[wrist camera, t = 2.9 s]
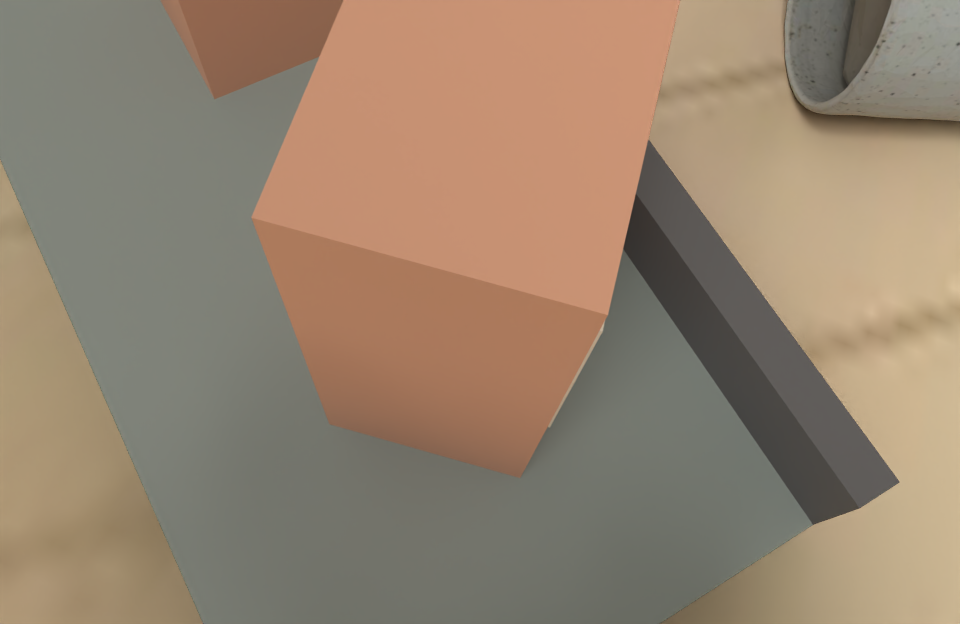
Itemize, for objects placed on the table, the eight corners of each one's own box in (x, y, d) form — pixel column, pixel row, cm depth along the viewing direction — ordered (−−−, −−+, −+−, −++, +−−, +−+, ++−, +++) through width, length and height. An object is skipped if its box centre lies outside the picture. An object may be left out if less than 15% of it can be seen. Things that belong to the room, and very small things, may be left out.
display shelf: (318, 829, 21) (286, 880, 16) (-36, 33, 29) (-132, -99, 24) (809, 514, 25) (909, 475, 20) (375, -116, 33) (367, -258, 28)
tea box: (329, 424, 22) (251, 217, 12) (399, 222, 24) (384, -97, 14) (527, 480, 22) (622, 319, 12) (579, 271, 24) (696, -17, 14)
